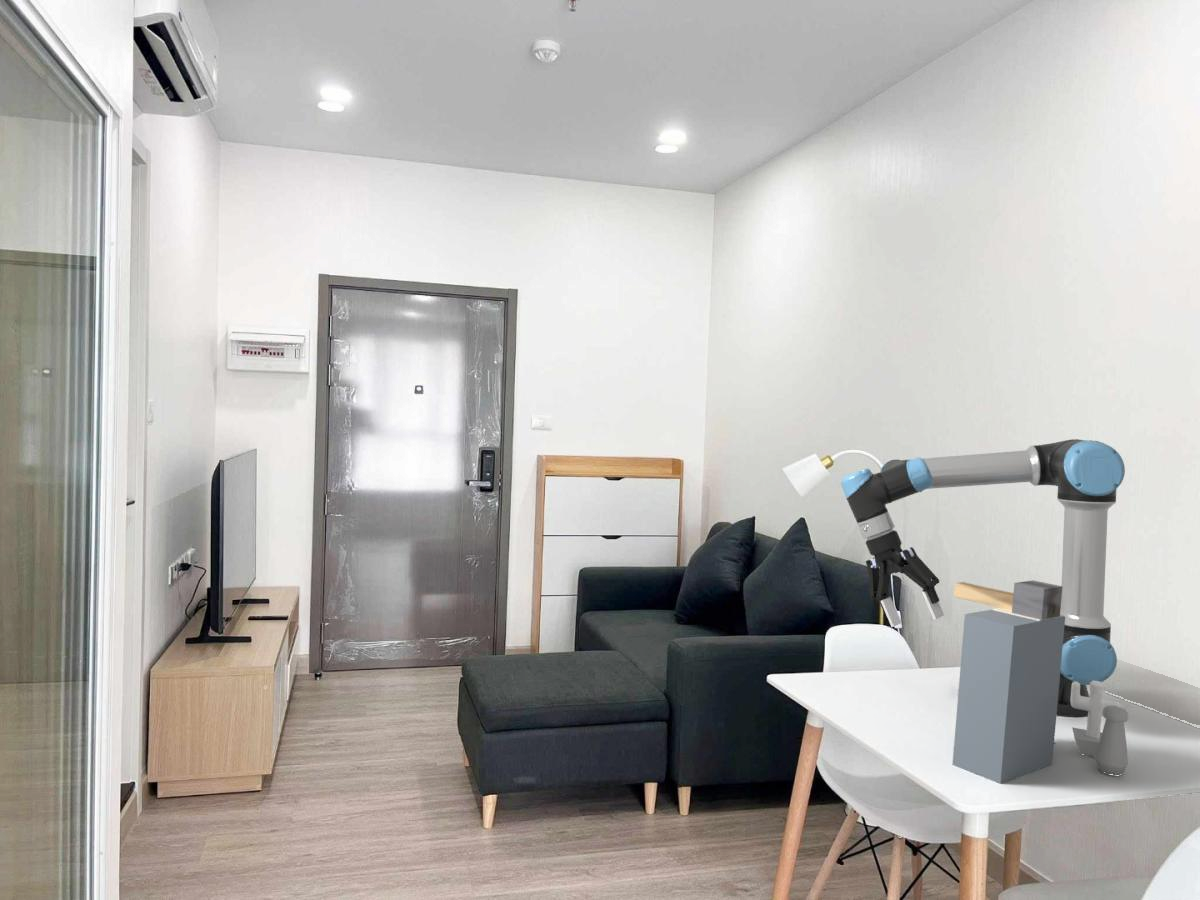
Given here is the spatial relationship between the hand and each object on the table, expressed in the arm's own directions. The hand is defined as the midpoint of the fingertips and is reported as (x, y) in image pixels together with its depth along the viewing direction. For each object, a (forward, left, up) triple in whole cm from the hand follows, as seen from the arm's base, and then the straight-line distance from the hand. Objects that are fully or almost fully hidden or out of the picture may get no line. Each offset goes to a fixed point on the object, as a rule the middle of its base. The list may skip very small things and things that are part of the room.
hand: (917, 621), depth 209 cm
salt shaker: (-6, +42, -21) cm, 47 cm away
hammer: (+7, +24, +9) cm, 26 cm away
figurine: (-13, +35, -21) cm, 43 cm away
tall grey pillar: (+11, +29, -21) cm, 37 cm away
